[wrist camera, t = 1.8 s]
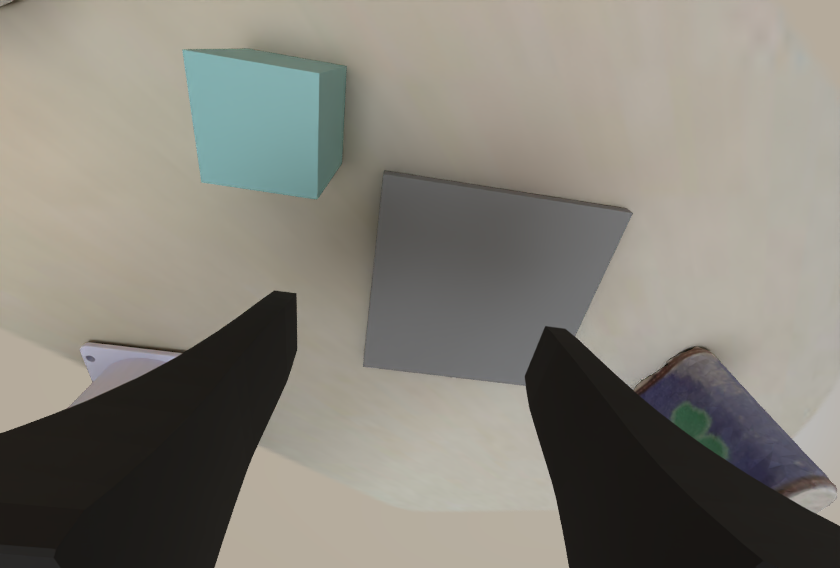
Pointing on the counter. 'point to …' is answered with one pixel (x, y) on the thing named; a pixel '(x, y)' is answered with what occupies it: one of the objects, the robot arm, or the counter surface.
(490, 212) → the mat
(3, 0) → the supplement bottle
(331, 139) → the teal block
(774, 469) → the flask
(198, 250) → the counter surface
